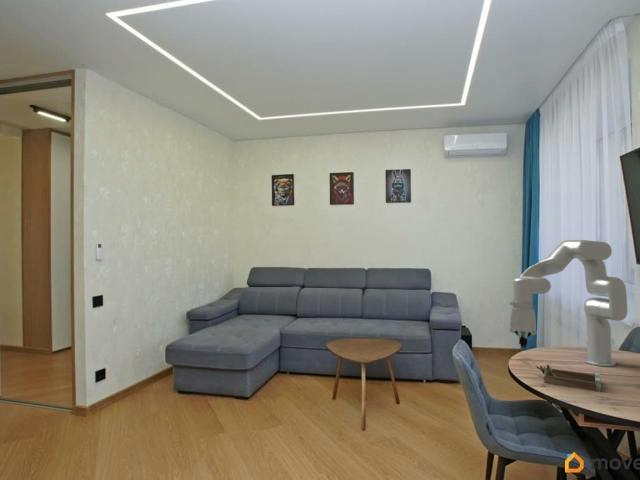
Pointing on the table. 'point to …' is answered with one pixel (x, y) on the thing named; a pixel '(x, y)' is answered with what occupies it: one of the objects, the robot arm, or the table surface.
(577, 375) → the walnut guide
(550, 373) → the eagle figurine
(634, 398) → the table surface
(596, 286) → the robot arm
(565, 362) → the table surface
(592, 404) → the table surface
